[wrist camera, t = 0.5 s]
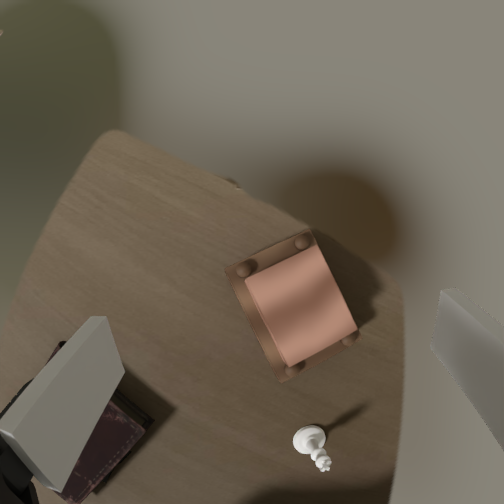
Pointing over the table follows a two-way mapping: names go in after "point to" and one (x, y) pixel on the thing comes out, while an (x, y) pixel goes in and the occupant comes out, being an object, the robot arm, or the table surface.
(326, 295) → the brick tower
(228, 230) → the table surface
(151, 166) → the table surface
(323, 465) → the chess piece
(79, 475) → the diary
